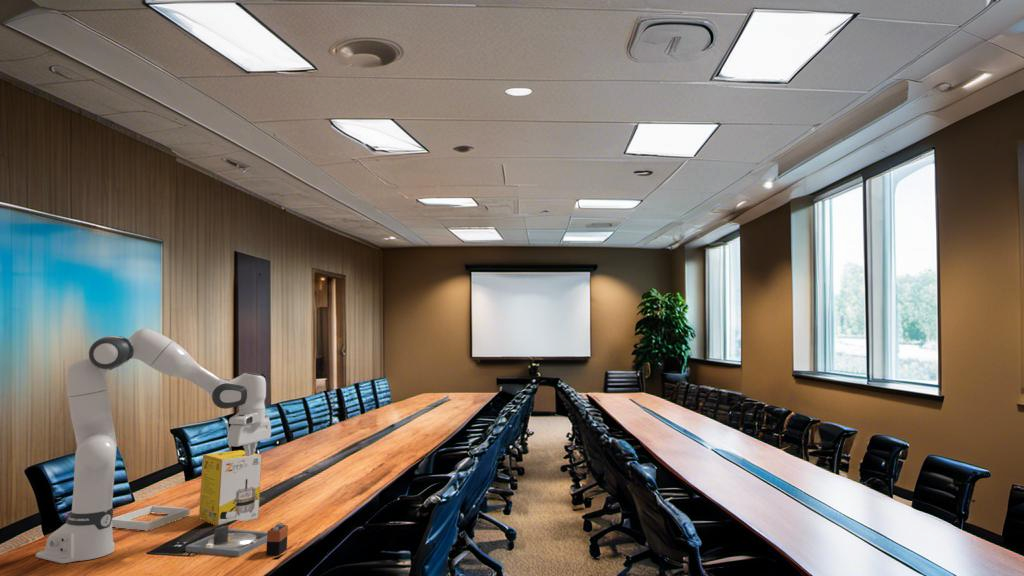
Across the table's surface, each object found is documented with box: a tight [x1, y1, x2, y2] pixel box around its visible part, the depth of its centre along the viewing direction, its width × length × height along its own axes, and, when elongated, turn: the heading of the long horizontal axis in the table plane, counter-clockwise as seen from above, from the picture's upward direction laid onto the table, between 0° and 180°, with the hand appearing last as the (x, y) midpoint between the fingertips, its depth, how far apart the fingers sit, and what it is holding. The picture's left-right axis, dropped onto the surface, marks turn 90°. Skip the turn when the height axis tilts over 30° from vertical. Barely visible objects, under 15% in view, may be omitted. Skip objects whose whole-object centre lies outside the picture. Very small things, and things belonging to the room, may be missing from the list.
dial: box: [208, 525, 257, 549], centre depth 207 cm, size 15×15×7 cm
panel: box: [185, 528, 267, 558], centre depth 207 cm, size 20×20×4 cm
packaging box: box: [198, 449, 263, 527], centre depth 243 cm, size 16×16×25 cm
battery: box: [265, 522, 289, 560], centre depth 200 cm, size 4×7×10 cm, turn 178°
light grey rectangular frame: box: [111, 505, 191, 531], centre depth 236 cm, size 18×21×3 cm
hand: (249, 455), depth 221 cm, fingers closed
